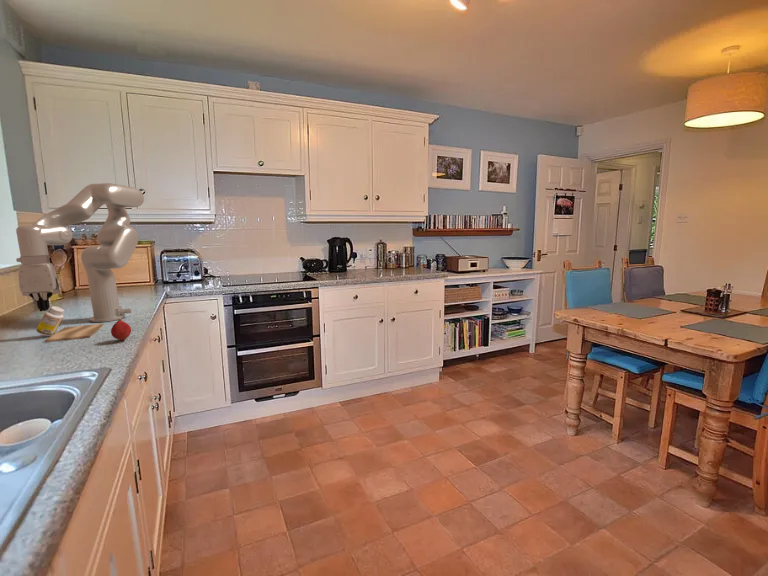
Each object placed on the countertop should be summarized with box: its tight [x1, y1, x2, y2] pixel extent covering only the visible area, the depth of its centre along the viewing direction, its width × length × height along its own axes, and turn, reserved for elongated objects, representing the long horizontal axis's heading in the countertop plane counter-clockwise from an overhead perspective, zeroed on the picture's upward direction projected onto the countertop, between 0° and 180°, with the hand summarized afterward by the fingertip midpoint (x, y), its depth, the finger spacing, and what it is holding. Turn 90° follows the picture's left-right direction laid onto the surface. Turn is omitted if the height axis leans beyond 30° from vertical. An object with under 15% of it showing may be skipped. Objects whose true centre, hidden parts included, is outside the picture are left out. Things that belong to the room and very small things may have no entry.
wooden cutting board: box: [44, 323, 104, 343], centre depth 147 cm, size 13×18×1 cm
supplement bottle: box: [35, 305, 65, 337], centre depth 143 cm, size 6×6×10 cm
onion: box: [110, 318, 132, 342], centre depth 136 cm, size 6×6×8 cm
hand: (44, 310), depth 142 cm, fingers closed
